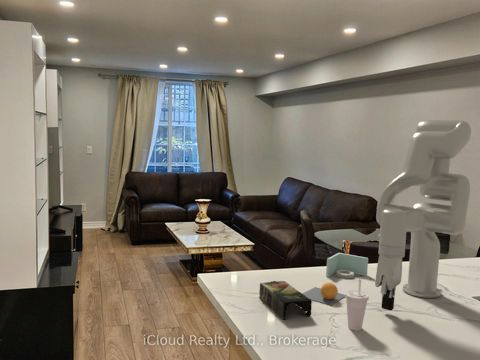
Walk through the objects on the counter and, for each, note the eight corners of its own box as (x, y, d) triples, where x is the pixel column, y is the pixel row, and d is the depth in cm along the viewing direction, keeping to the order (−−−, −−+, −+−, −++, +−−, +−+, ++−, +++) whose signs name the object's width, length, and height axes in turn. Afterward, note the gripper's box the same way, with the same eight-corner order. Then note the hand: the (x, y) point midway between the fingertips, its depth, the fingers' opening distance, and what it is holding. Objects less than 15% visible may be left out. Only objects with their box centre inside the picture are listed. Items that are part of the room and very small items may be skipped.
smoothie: (367, 333, 128) (370, 284, 126) (343, 331, 129) (346, 281, 128) (365, 324, 134) (369, 277, 133) (343, 322, 135) (346, 274, 134)
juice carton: (256, 297, 154) (257, 279, 153) (283, 295, 157) (284, 277, 156) (282, 322, 135) (283, 301, 134) (312, 319, 138) (313, 299, 138)
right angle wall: (325, 278, 178) (327, 258, 178) (337, 270, 188) (338, 252, 188) (356, 284, 172) (357, 264, 171) (366, 276, 182) (368, 257, 181)
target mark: (315, 287, 165) (315, 287, 165) (346, 295, 158) (346, 295, 158) (297, 296, 155) (297, 295, 155) (330, 305, 148) (330, 304, 148)
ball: (338, 298, 155) (323, 292, 158) (341, 283, 154) (325, 278, 156) (332, 304, 150) (317, 298, 153) (335, 289, 149) (319, 283, 152)
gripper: (388, 243, 149) (384, 299, 151) (370, 252, 138) (366, 312, 139) (412, 248, 145) (407, 305, 147) (395, 257, 133) (390, 319, 135)
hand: (387, 308), depth 143 cm, fingers closed
